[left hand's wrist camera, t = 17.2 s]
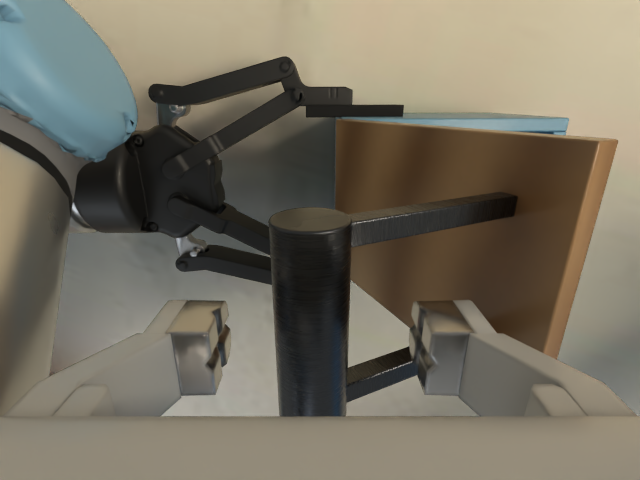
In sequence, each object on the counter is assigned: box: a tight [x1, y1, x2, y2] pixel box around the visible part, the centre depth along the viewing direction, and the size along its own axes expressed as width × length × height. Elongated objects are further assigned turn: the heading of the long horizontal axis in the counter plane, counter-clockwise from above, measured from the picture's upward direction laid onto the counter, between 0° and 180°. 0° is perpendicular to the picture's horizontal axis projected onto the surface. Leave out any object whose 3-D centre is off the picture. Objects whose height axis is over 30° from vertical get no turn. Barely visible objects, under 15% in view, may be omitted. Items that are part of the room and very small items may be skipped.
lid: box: [269, 119, 618, 416], centre depth 15 cm, size 14×10×9 cm
